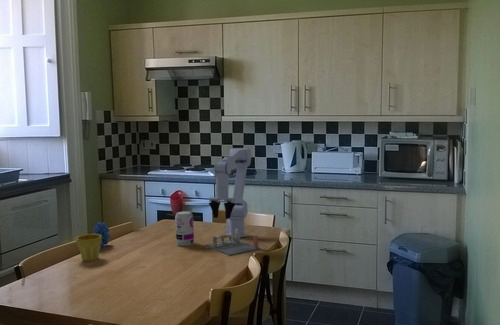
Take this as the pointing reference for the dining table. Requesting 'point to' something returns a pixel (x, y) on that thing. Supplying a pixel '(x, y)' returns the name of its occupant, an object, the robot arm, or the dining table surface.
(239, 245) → the gate frame
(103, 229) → the grapes
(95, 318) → the dining table surface
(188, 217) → the supplement can
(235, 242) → the gate
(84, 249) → the plant pot
